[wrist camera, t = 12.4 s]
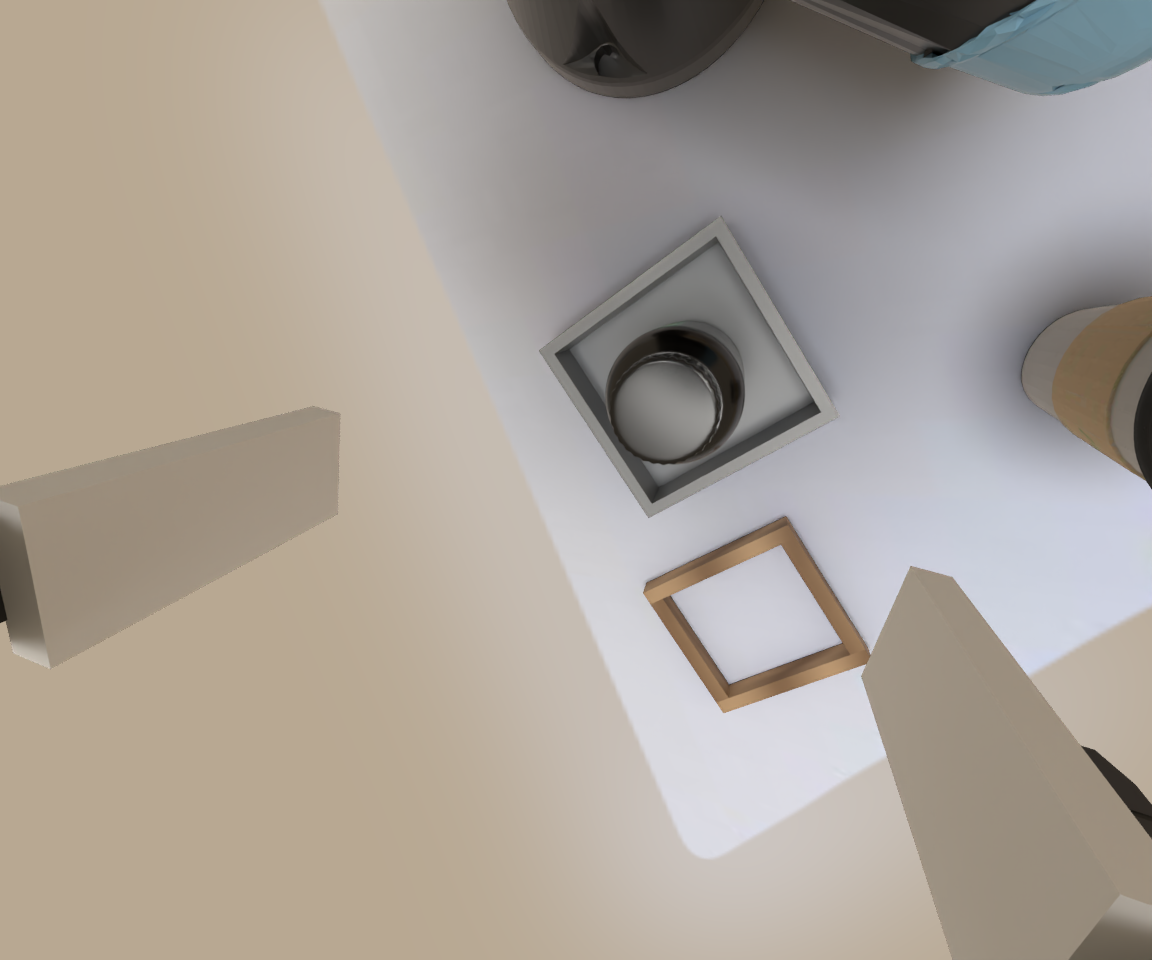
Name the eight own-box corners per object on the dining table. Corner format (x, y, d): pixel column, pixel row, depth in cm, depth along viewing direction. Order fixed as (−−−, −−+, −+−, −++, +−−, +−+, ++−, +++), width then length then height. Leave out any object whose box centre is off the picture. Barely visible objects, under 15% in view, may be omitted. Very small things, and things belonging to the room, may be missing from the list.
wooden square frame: (786, 516, 37) (787, 524, 35) (868, 648, 38) (872, 661, 37) (646, 583, 41) (643, 593, 40) (724, 699, 42) (723, 713, 41)
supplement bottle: (649, 307, 34) (606, 312, 23) (760, 335, 33) (769, 354, 22) (622, 413, 37) (571, 462, 26) (724, 442, 35) (716, 507, 24)
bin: (723, 224, 32) (720, 215, 29) (829, 403, 34) (840, 416, 30) (558, 345, 37) (538, 350, 34) (657, 497, 39) (648, 518, 35)
